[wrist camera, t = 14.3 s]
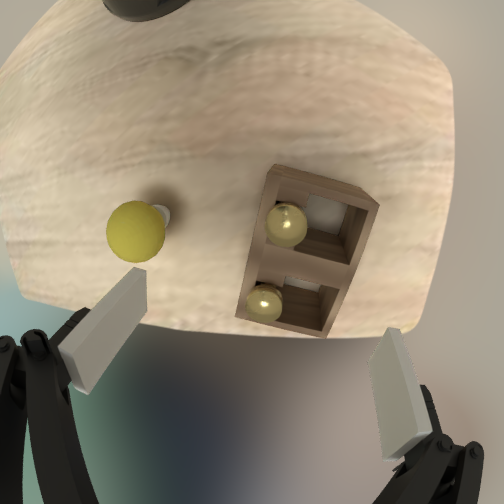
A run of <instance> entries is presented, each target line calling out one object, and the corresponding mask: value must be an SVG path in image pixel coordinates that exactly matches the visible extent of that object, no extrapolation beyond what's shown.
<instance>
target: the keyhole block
mask: <svg viewBox="0 0 504 504" xmlns="http://www.w3.org/2000/svg"><path fill="white" fill-rule="evenodd" d="M309 193H310V194H314V195H318V196H321V197H325V198H328V199H332V200H335V201H339V202H342V203H345V204H349V205H348V208H347V211H346V214H345V218H344V221H343V224H342V227H341V230H340V233H339V236H337V235H333V234H330V233H326V232H323V231H319V230H315V229H311V228H308V227H307V233H306V236H305V237H304V239H303V240H302V241H301V242H300V243H298V244H297V245H295V246H292V247H281V246H278V245H276V244H274V243H273V242H272V241H271V240H270V239H269V238H268V236H267V235H266V232H265V221H266V218H267V215H268V213H269V211H270V210H271V209H272V208H273V207H274V206H275V205H276V203H277V200H278V201H282V202H290V203H294V204H296V205H298V206H301V207H305V208H306V204H307V201H308V197H309ZM378 208H379V204H378V203H377V202H376V201H375V200H374V199H373V198H372V197H370V196H369V195H368V194H367V193H366V192H365V191H364V190H362V189H361V188H359V187H356V186H353V185H350V184H346V183H343V182H340V181H336V180H333V179H330V178H326V177H323V176H319V175H316V174H312V173H308V172H304V171H301V170H297V169H293V168H289V167H285V166H281V165H277V164H274V166H273V167H272V168H271V169H270V170H269V172H268V173H267V177H266V182H265V186H264V190H263V195H262V199H261V204H260V208H259V212H258V217H257V221H256V226H255V230H254V234H253V239H252V243H251V247H250V252H249V256H248V261H247V265H246V270H245V274H244V278H243V283H242V287H241V292H240V296H239V300H238V305H237V309H236V314H235V317H238V318H241V319H245V320H249V321H253V322H257V321H255V320H253V319H252V318H250V317H249V315H248V314H247V312H246V310H245V303H246V300H247V297H248V294H249V292H250V291H251V289H253V288H254V287H256V286H258V285H261V282H264V283H268V284H272V285H276V289H278V290H279V291H280V293H281V295H282V297H283V305H282V312H281V315H280V316H279V318H277V319H276V320H275V321H273V322H269V323H261V322H257V323H261V324H265V325H268V326H273V327H277V328H281V329H285V330H289V331H293V332H298V333H302V334H307V335H311V336H316V337H320V338H325V339H326V338H327V335H328V333H329V331H330V329H331V327H332V325H333V323H334V320H335V318H336V316H337V314H338V312H339V309H340V307H341V305H342V303H343V300H344V298H345V296H346V293H347V291H348V289H349V286H350V284H351V281H352V279H353V276H354V274H355V271H356V269H357V266H358V264H359V261H360V259H361V256H362V254H363V251H364V248H365V246H366V243H367V240H368V237H369V235H370V232H371V229H372V226H373V223H374V220H375V217H376V214H377V211H378ZM286 276H289V277H293V278H297V279H301V280H305V281H309V282H313V283H317V284H321V287H320V290H319V292H313V291H309V290H305V289H301V288H297V287H293V286H289V285H286V284H283V283H284V280H285V277H286Z"/></svg>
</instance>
